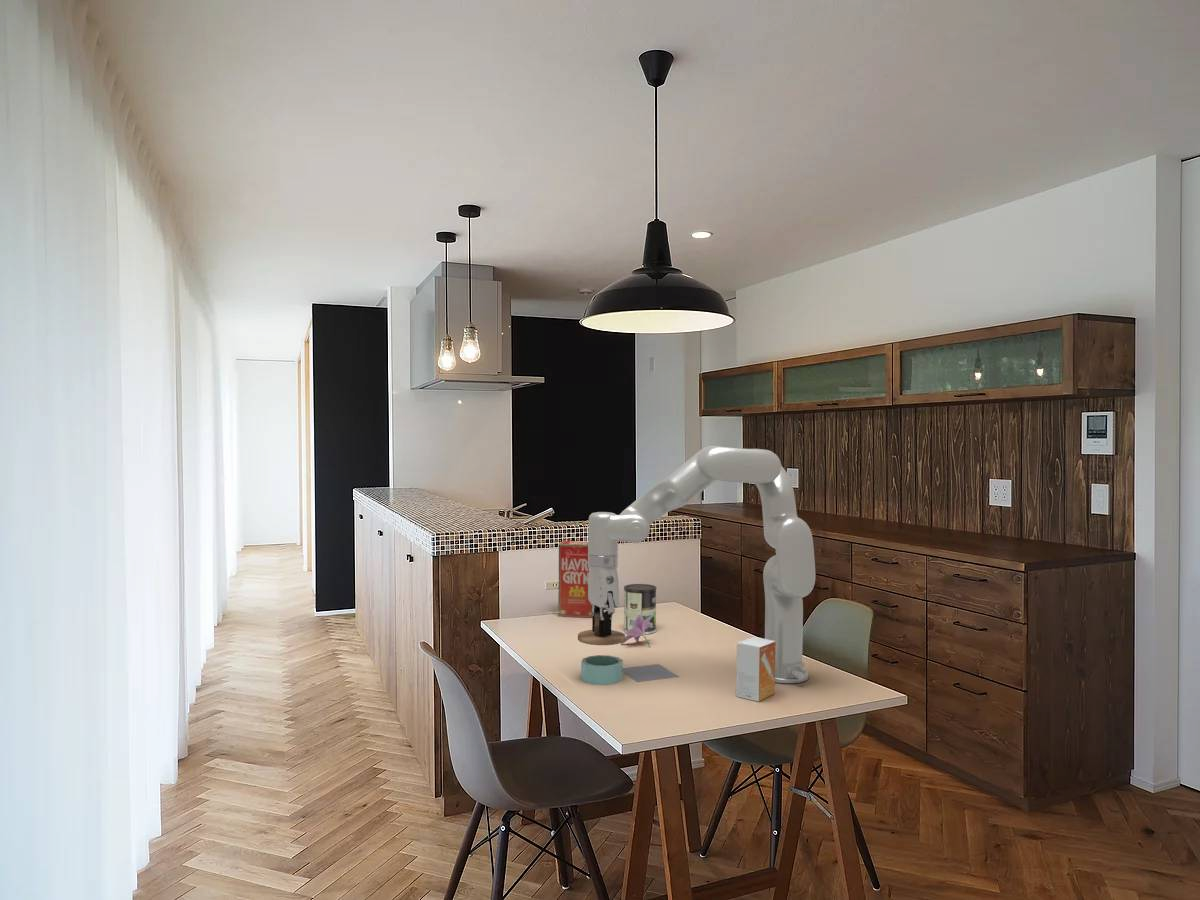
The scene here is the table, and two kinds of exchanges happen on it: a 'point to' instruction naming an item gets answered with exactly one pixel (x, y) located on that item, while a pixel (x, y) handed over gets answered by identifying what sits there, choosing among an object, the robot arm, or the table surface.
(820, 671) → the table surface
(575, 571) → the food packaging
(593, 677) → the bowl
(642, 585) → the coffee can
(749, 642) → the small box
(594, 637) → the lid
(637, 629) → the lily
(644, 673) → the mat
